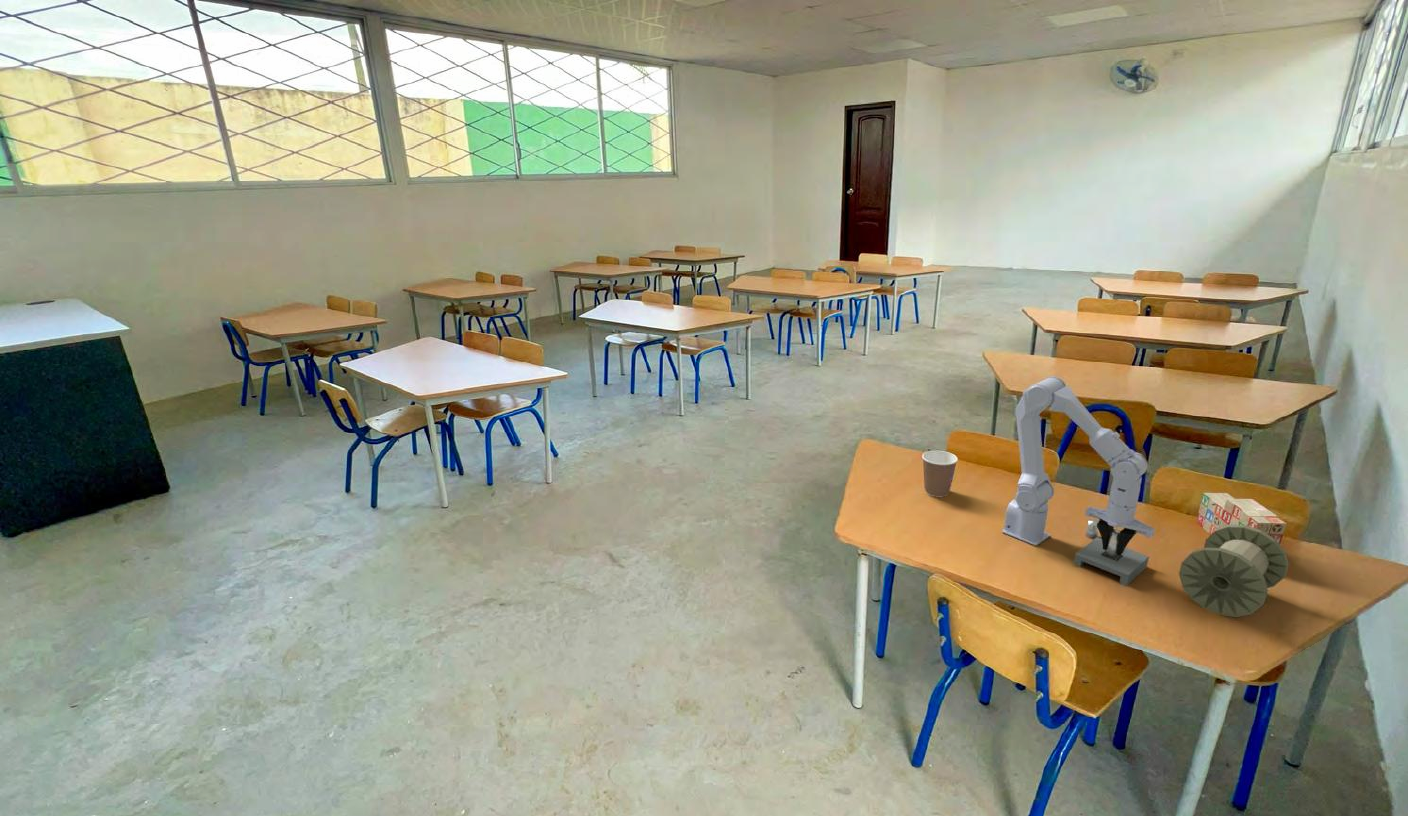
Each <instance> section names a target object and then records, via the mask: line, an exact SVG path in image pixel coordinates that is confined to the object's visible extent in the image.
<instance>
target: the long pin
mask: <svg viewBox="0 0 1408 816" xmlns="http://www.w3.org/2000/svg"><path fill="white" fill-rule="evenodd" d="M1120 531H1121V530H1120V529H1118V528H1117V529H1116V528H1113V529H1111V530H1110V534H1109V539H1108V544H1107V549H1106V554H1105V555H1104V556H1105V557H1107V558H1110V559H1113V560H1115V561H1118V559H1119V558H1118V555H1117V549H1118V546H1119V533H1120Z"/></svg>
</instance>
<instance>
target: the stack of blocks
mask: <svg viewBox="0 0 1408 816" xmlns="http://www.w3.org/2000/svg"><path fill="white" fill-rule="evenodd" d="M1196 523H1197V524H1199V526H1201V527H1202V528H1203V529H1204V530H1205V531H1206V532H1207V533H1208V534H1209V535H1211V534H1212V533H1213V532H1214V531H1215V530H1216V529H1219V528H1222V527H1225V526H1228V525H1246V526H1249V527H1253V528H1256V529H1259V530H1262V531H1263V532H1265V533H1266V534H1268V535H1270V536H1271V537H1273V538H1274V539H1276V540H1277V542H1278V543H1279V544H1280V545H1281V543H1282V540H1283V537H1284V532H1285V530H1286V527H1287V523H1286V522H1285V521H1284V520H1282V519H1281V518H1280V517H1278V515H1276V514H1275V513H1273V512H1272V511H1270V510H1269V509H1268V508H1266V507H1265V506H1263V505H1262V504H1260V503H1259V502H1257V501H1256V500H1254V499H1253V498H1234V496H1232V495H1230V494H1229V493H1228V492H1203V493H1202V495H1201V499H1200V505H1199V509H1198V515H1197V518H1196Z"/></svg>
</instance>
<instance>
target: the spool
mask: <svg viewBox="0 0 1408 816" xmlns="http://www.w3.org/2000/svg"><path fill="white" fill-rule="evenodd" d="M1289 566H1290V563H1289V560H1288V555H1287V552H1286V550H1285V549H1284V548H1283V546H1282V545H1281V543H1280V544H1279V543H1278V542H1277V540H1276V539H1274V538H1273V537H1271V536H1270V535H1268V534H1266V533H1265V532H1263V531H1262V530H1259V529H1256V528H1253V527H1249V526H1246V525H1228V526H1225V527H1222V528H1219V529H1216V530H1215V531H1214V532H1213V533H1212V534H1209V536H1208V537H1207V538H1206V539H1205V542H1204V546H1203V548H1200V549H1198V550H1197V549H1196V550H1194V551H1192V552H1191V553H1190V554H1188V555H1187V557H1186V558H1185V559H1184V560H1182V561H1181V564H1180V569H1179V572H1178V576H1179V579H1180V583H1181V587H1182V588H1183V590H1184V591H1185V592H1186V594H1187V595H1188V596H1189V597H1190V599H1191V600H1193V601H1194V602H1195V603H1196V604H1198V605H1199V606H1201V608H1203V609H1205V610H1208V611H1210V612H1212V613H1215V614H1218V615H1219V616H1226V617H1236V618H1239V617H1243V616H1248V615H1252V614H1254V613H1255V612H1256V611H1257V610H1259V609H1260V607H1263V605H1264V604H1265V601H1266V598H1267V596H1268V595H1267V594H1268V591H1269V590H1268V589H1270V588H1273V587H1275V586H1276V585H1277V584H1278V583H1280V582H1281V581H1282V580H1283V579H1284V578H1285V577H1286V574H1287V572H1288V569H1289Z"/></svg>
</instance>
